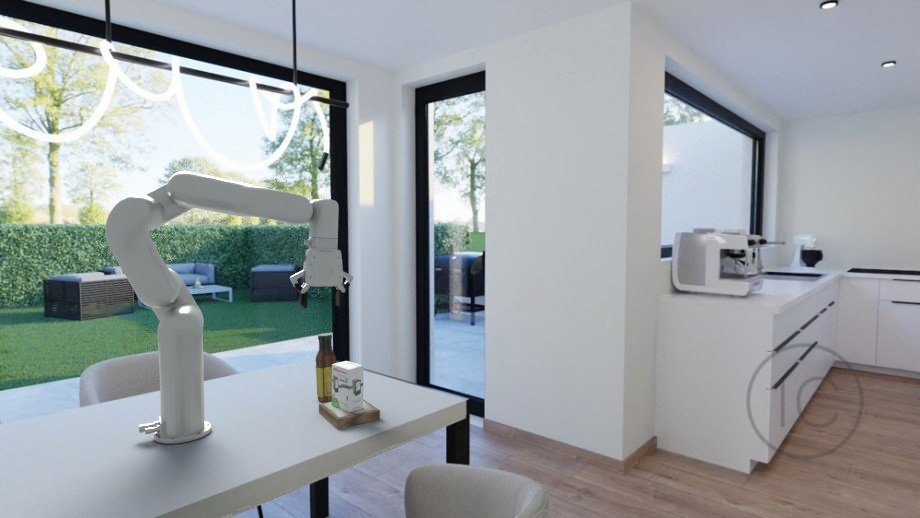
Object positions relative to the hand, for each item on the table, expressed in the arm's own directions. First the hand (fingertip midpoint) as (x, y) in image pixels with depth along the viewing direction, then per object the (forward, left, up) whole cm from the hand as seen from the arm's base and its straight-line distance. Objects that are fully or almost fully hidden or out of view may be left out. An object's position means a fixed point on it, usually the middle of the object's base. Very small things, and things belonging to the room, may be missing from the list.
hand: (321, 306), depth 139 cm
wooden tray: (+5, -6, -30) cm, 31 cm away
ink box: (+5, -6, -28) cm, 29 cm away
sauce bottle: (+5, +11, -30) cm, 33 cm away
